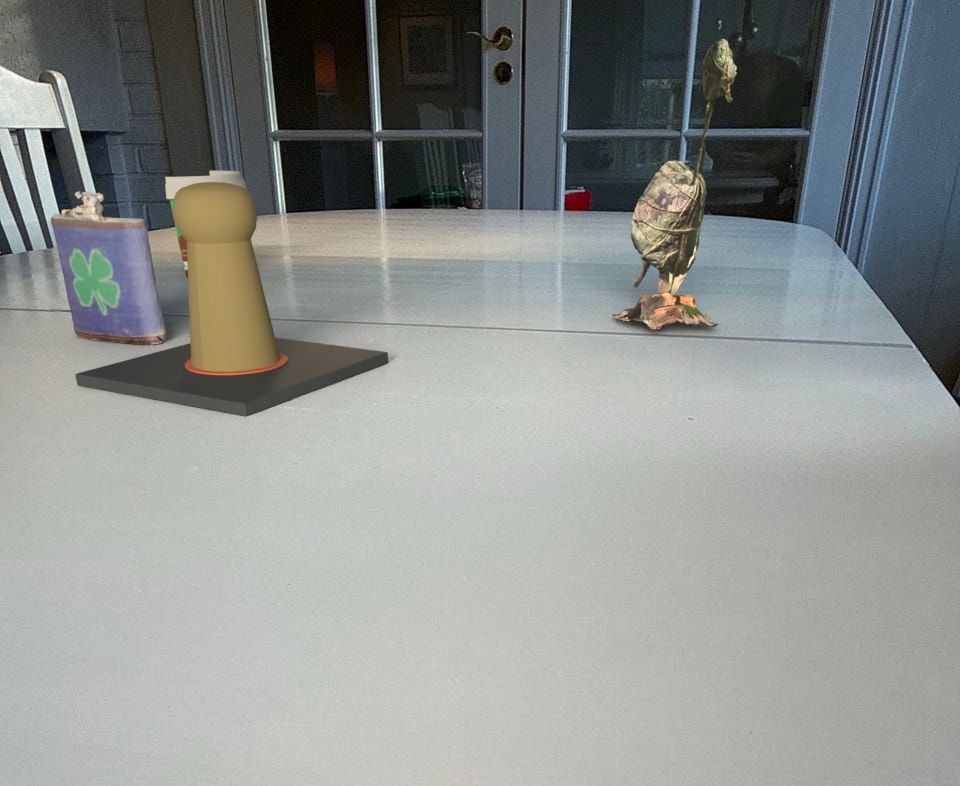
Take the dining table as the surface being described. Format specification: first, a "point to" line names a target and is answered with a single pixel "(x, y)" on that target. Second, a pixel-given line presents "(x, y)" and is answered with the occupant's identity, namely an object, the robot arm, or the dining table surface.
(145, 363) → the placemat
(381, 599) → the dining table surface
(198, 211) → the cork
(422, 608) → the dining table surface
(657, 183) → the plant with pod
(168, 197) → the food container
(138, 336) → the flask
